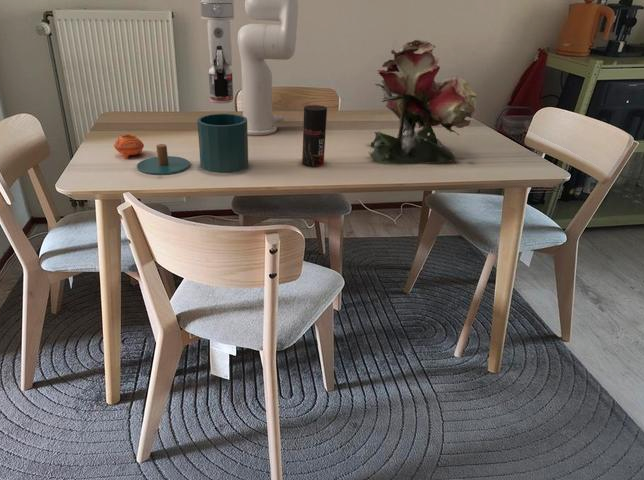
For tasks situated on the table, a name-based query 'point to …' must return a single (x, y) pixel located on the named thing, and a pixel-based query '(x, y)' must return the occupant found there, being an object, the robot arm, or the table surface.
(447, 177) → the table surface
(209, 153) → the tin
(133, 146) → the pot
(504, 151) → the table surface
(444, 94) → the rose bouquet
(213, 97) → the pill bottle
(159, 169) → the lid
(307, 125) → the deodorant
